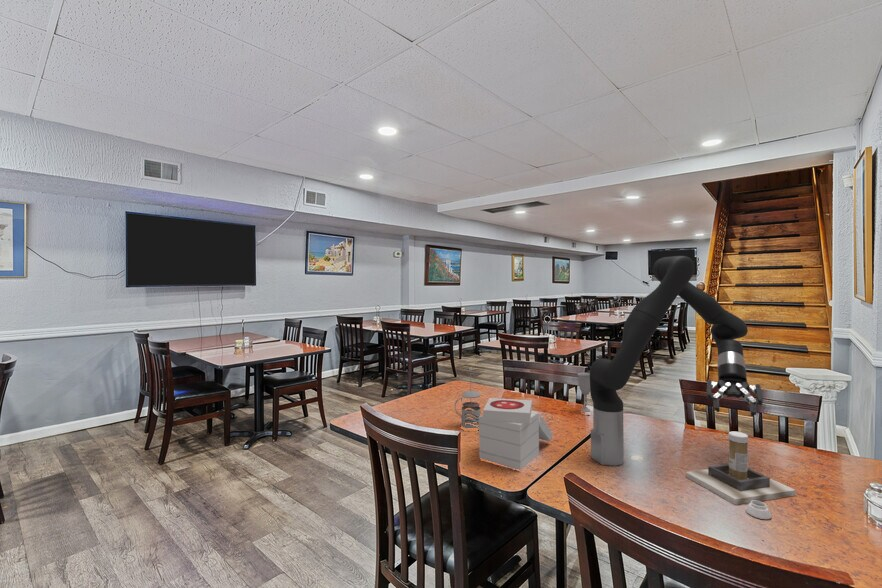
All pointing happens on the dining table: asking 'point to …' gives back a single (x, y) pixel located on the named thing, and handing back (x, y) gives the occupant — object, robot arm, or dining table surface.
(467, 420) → the french press
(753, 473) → the condiment holder
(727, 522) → the dining table surface
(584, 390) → the chalice
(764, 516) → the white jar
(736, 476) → the sprinkles bottle
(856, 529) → the dining table surface
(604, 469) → the dining table surface
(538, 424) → the stack of boxes
